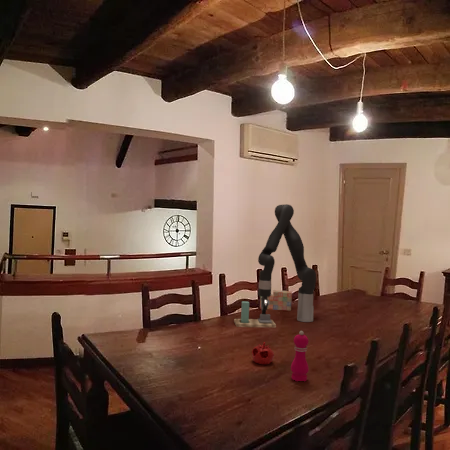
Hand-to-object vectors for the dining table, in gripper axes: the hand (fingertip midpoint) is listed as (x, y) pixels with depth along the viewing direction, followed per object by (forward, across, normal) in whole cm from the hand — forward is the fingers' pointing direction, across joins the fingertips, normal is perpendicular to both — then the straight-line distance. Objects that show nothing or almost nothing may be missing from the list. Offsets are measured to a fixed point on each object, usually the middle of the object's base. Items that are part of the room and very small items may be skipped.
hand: (263, 316), depth 268 cm
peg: (+4, -4, +12) cm, 13 cm away
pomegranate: (+4, -66, +11) cm, 67 cm away
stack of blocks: (+5, +40, -15) cm, 42 cm away
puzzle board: (+4, -4, +6) cm, 8 cm away
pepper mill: (+4, -85, -1) cm, 85 cm away
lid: (+2, -4, 0) cm, 5 cm away
